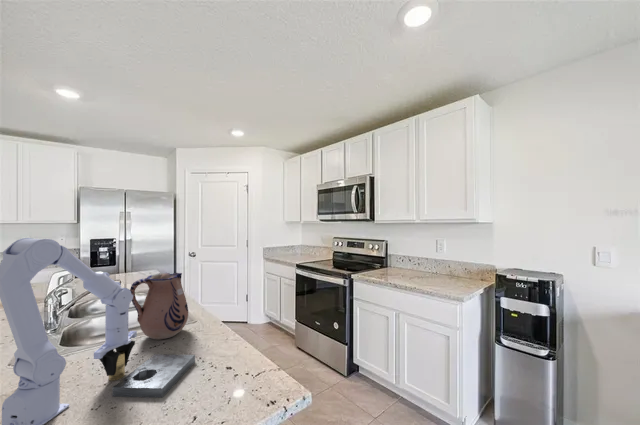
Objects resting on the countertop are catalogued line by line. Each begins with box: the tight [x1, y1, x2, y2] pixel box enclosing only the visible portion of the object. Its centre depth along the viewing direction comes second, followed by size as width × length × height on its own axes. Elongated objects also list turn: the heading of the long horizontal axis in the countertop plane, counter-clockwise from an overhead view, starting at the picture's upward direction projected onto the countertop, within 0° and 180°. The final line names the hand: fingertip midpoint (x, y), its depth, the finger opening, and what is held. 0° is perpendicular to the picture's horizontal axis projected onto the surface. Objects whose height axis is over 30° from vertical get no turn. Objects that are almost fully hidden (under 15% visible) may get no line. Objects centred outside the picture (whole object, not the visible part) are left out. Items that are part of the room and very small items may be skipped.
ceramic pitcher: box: [129, 272, 189, 341], centre depth 113 cm, size 18×21×25 cm
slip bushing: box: [108, 351, 126, 382], centre depth 84 cm, size 4×4×7 cm
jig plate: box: [111, 353, 196, 398], centre depth 84 cm, size 18×14×2 cm
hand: (116, 370), depth 84 cm, fingers closed on slip bushing, 4 cm apart
